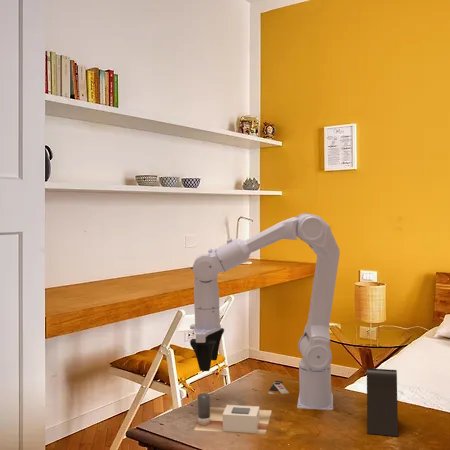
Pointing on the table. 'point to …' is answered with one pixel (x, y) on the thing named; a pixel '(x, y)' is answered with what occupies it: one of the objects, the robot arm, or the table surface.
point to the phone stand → (382, 402)
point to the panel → (217, 426)
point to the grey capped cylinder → (204, 409)
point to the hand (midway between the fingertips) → (208, 365)
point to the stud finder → (241, 418)
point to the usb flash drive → (278, 387)
